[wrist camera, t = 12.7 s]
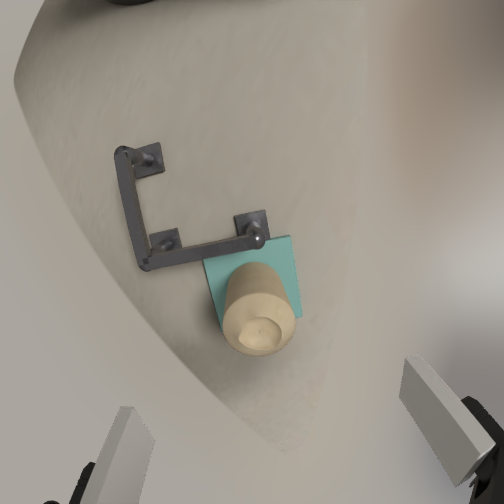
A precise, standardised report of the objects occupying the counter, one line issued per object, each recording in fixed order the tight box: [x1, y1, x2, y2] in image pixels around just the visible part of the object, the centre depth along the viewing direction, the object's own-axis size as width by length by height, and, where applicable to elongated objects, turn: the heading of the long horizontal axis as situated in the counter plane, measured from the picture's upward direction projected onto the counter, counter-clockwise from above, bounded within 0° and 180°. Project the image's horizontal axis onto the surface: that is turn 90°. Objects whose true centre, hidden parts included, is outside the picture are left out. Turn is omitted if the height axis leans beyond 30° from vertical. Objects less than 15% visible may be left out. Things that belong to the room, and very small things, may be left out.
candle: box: [223, 262, 296, 356], centre depth 24 cm, size 6×6×10 cm
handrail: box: [114, 142, 271, 272], centre depth 23 cm, size 12×12×8 cm
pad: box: [203, 235, 303, 332], centre depth 29 cm, size 9×9×1 cm
